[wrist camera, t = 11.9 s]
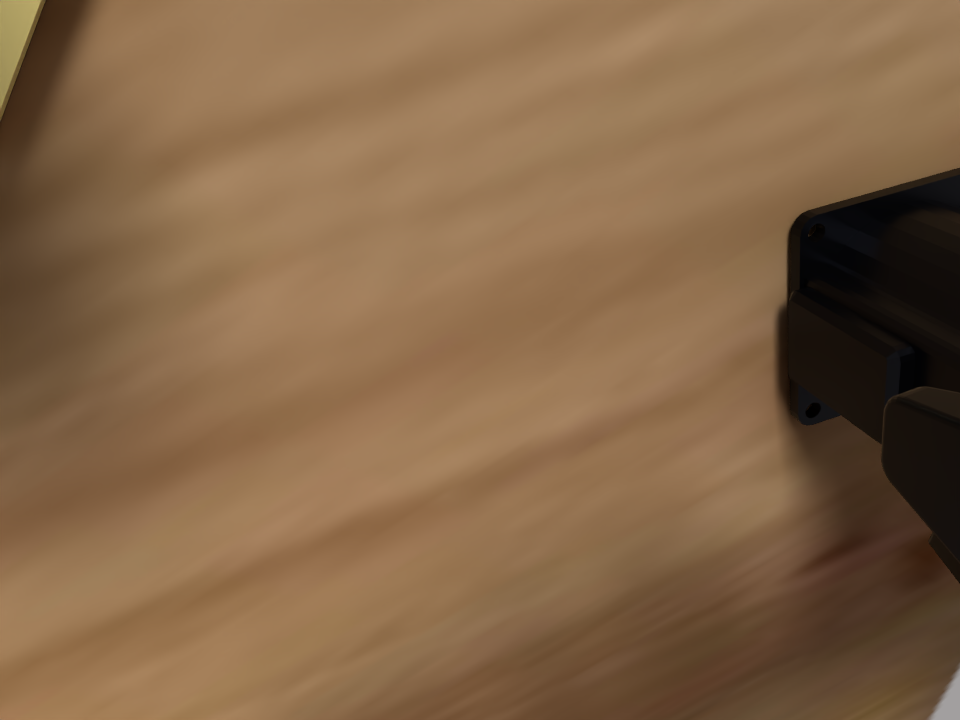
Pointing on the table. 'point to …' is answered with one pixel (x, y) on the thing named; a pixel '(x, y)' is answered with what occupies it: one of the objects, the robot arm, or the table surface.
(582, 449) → the table surface
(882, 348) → the robot arm
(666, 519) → the table surface
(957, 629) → the table surface
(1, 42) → the dock
